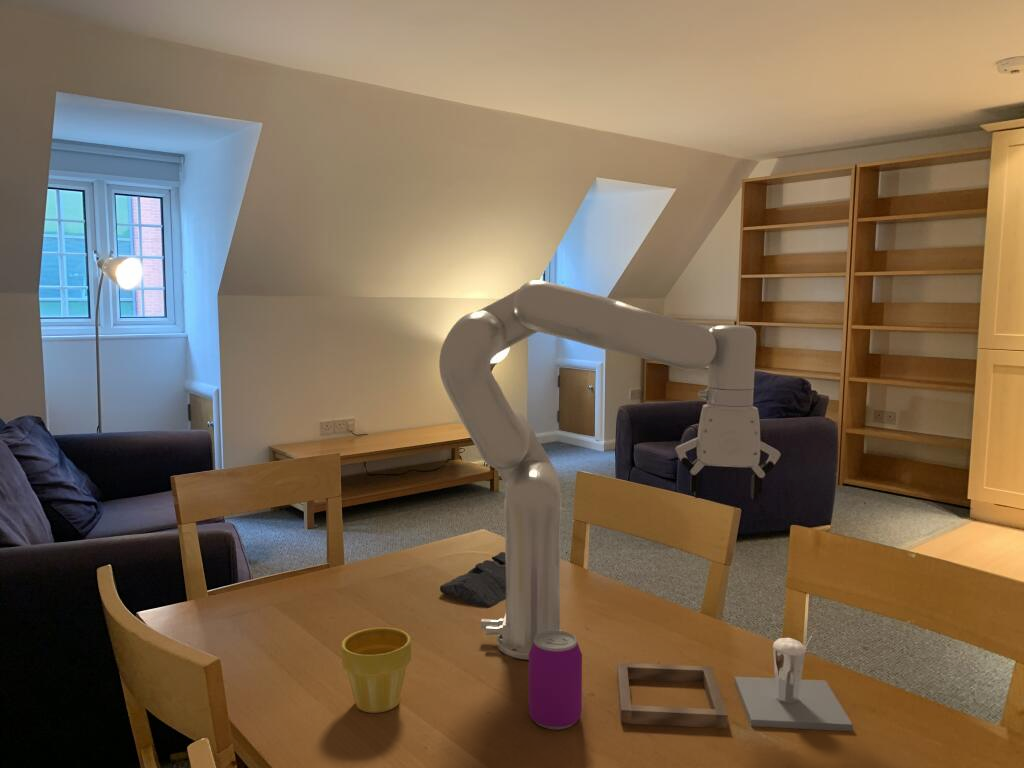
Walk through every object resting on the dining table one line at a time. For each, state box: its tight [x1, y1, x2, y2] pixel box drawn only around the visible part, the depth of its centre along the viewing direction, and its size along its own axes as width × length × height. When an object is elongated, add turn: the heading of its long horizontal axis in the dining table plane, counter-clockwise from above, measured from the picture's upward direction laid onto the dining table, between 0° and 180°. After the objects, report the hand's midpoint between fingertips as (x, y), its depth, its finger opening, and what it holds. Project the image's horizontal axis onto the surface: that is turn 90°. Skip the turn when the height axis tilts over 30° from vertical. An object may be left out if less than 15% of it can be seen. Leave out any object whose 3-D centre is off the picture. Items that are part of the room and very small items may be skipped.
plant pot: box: [340, 627, 412, 714], centre depth 119 cm, size 10×10×10 cm
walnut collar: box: [616, 662, 729, 729], centre depth 121 cm, size 15×15×2 cm
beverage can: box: [528, 630, 583, 730], centre depth 115 cm, size 8×8×12 cm
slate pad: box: [734, 676, 854, 732], centre depth 119 cm, size 14×13×1 cm
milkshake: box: [772, 636, 812, 704], centre depth 118 cm, size 4×5×10 cm
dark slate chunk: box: [439, 551, 506, 608], centre depth 168 cm, size 15×22×5 cm
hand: (725, 497), depth 135 cm, fingers open, 9 cm apart
